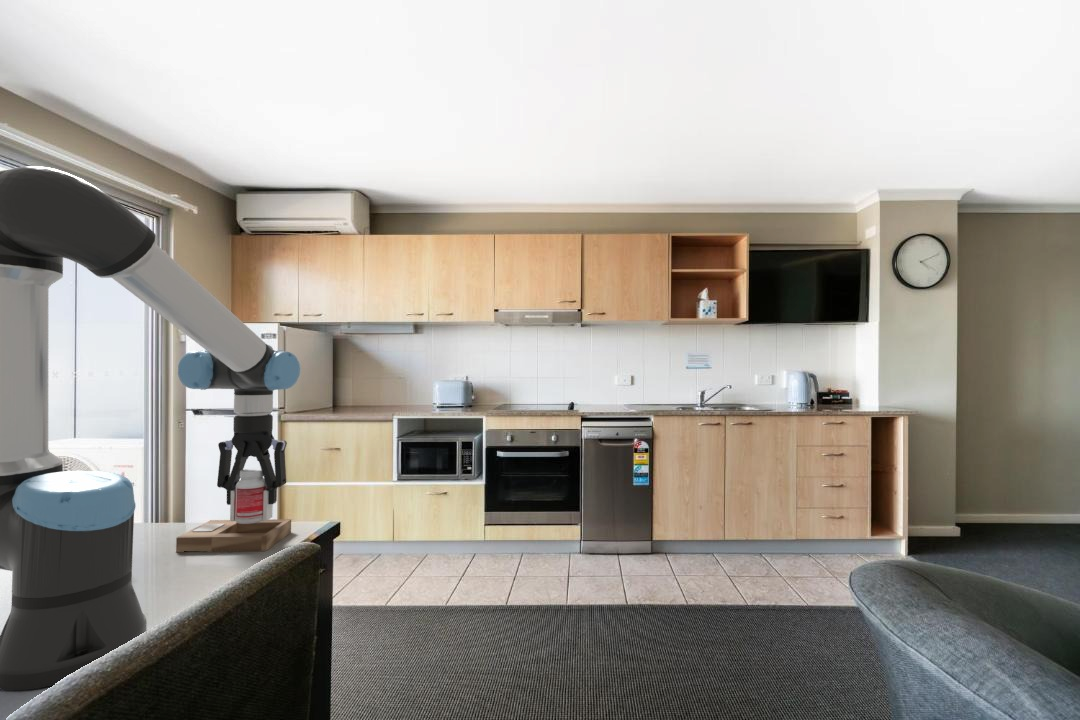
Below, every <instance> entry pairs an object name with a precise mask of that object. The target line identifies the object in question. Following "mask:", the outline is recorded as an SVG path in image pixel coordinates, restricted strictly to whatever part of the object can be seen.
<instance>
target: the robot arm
mask: <svg viewBox="0 0 1080 720" xmlns="http://www.w3.org/2000/svg"><path fill="white" fill-rule="evenodd" d="M64 259H67V260H70V261H72V262H74V263H76V264H79V265H80V266H83V267H84V268H85V269H86V270H88V271H90V272H91V273H92V274H93V275H95V276H96V277H99V278H102V279H103V278H105V279H106V278H107V279H110V278H111V279H113V280H114V281H115V282H117V283H118V285H120V286H122V287H123V288H124V289H126V290H127V291H128V292H129V293H131V294H132V295H133V296H134V297H136V298H137V299H138V300H140V301H141V302H142V303H144V304H145V305H147V306H148V307H149V308H151V309H152V310H153V311H154V312H156V313H157V314H158V315H160V316H161V317H162V318H164V319H165V320H166V321H168V322H169V323H171V325H173V326H174V327H176V328H177V330H179V331H180V332H182V333H184V334H185V335H186V336H187V337H188V338H190V339H191V340H192V341H194V342H195V343H196V344H197V345H199V346H200V347H201V348H203V349H204V350H192V351H187V353H185V354H184V355H182V357H181V358H180V359H179V362H178V365H177V368H178V369H177V375H178V378H179V381H180V383H181V384H182V385H183V386H184V387H186V388H188V389H190V390H191V389H192V390H201V391H205V390H217V389H218V390H233V391H234V392H233V395H234V396H233V397H234V399H233V413H234V414H236V415H234V417H233V430H232V431H233V436H232V438H231V439H230V440H224V441H220V442H218V446H217V447H218V449H219V464H218V471H217V473H218V475H217V483H216V484H217V485H216V486H217V487H218V488H219V489H221V488H223V489H224V490H226V505H227V506H230V508H229V510H230V511H229V512H230V514H229V516H230V519H229V520H230V521H235V497H236V484H237V482H238V481H240V480H241V478H240V471H241V470H244V469H245V465H246V463H247V460H248V459H249V457H254V458H255V457H256V461H258V463H259V467H260V468H261V470H262V473H263V478H264V479H265V482H266V485H267V489H266V490H264V495H263V521H267V520H271V518H273V505H274V504H276V503H277V501H278V497H277V496H278V488H280V487H283V486H285V485H286V484H287V470H286V468H287V467H286V457H285V456H286V454H285V453H286V451H285V450H286V447H287V444H288V442H287V441H286V440H278V439H275V437H274V436H273V426H274V425H273V423H274V422H273V420H274V418H273V417H274V415H272V414H270V413H272V412H273V411H274V391H276V390H288V389H291V388H292V387H294V385H295V384H297V382H298V380H299V377H300V374H301V366H300V364H301V363H300V361H299V360H298V357H297V356H296V355H295V354H294V353H292V352H291V351H290V352H289V351H286V350H285V351H284V350H274V348H273V346H271V345H269V344H267V343H266V342H265V341H264V340H263V339H261V338H260V337H259V336H258V335H257V334H256V333H255V332H254V331H253V330H252V329H251V328H250V327H248V326H247V324H245V323H244V322H243V321H242V320H240V318H238V317H237V316H236V315H235V314H234V313H233V312H231V310H230V309H228V308H227V307H226V306H225V304H223V303H222V302H221V301H220V300H219V299H217V298H216V297H215V296H214V295H213V294H212V293H211V292H209V290H207V289H206V288H205V287H204V286H203V285H202V284H201V282H199V281H197V280H196V279H195V278H194V276H192V275H191V274H190V273H189V272H188V271H187V270H186V269H184V267H182V266H181V265H180V264H179V263H178V262H177V261H175V259H173V258H172V256H170V255H169V254H168V253H167V252H166V251H165V250H164V249H162V248H161V247H160V246H159V245H158V237H157V234H156V232H155V231H153V230H152V229H151V228H149V226H148V225H147V224H146V223H144V221H142V220H141V219H140V218H138V217H137V216H136V215H135V214H134V213H133V211H130V210H129V209H128V208H126V207H125V206H124V205H123V204H121V203H120V202H119V201H118V200H116V199H115V198H113V197H112V196H111V195H109V194H107V193H106V192H104V191H103V190H101V189H99V188H98V187H96V186H95V185H93V184H92V183H89V182H87V181H86V180H84V179H83V178H80V177H77V176H75V175H74V174H70V173H68V172H65V171H62V170H59V169H56V168H51V167H46V166H37V165H35V166H34V165H33V166H21V167H19V166H18V167H16V168H11V169H3V170H0V570H4V571H10V572H11V574H12V577H11V579H12V580H11V607H10V608H11V609H10V612H9V615H8V617H7V620H6V622H5V624H4V626H3V629H2V630H1V632H0V690H2V691H3V690H4V691H26V690H35V689H36V690H37V689H41V688H47V687H52V686H55V685H54V684H55V683H57V682H58V681H60V680H61V679H63V678H64V677H66V676H67V675H69V674H71V673H73V672H75V671H76V670H78V669H80V668H81V667H83V666H85V665H87V664H89V663H91V662H92V661H94V660H96V659H98V658H100V657H102V656H104V655H105V654H107V653H109V652H110V651H112V650H114V649H116V648H118V647H119V646H121V645H123V644H125V643H127V642H128V641H130V640H132V639H133V638H135V637H137V636H139V635H140V634H142V633H144V632H145V631H146V632H147V624H148V623H147V618H146V616H145V613H143V610H142V606H141V605H140V602H139V600H138V597H137V594H136V591H135V589H134V587H133V581H132V580H133V577H132V576H133V575H132V574H133V551H134V549H133V548H134V547H133V546H134V525H135V510H136V502H135V494H134V486H133V483H132V482H131V481H130V479H129V478H128V477H126V476H124V475H122V474H118V473H115V472H111V471H105V470H104V471H102V470H91V471H86V470H67V471H66V470H63V468H64V467H63V465H64V463H63V461H64V460H63V459H61V458H60V457H58V455H57V456H56V455H55V454H53V453H52V452H51V451H50V448H49V289H50V287H51V286H52V285H54V284H55V283H56V282H58V281H59V280H61V279H62V278H63V275H64V273H63V271H64ZM271 446H272V449H273V451H274V452H273V456H274V457H273V458H274V468H273V465H272V462H271V455H270V451H269V448H271ZM233 448H235V449H236V451H237V452H236V454H235V457H234V463H233V466H232V469H231V465H232V457H233V456H232V455H233Z"/></svg>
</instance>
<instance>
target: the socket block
mask: <svg viewBox="0 0 1080 720" xmlns="http://www.w3.org/2000/svg"><path fill="white" fill-rule="evenodd" d="M291 533H292V519H291V518H290V519H287V518H286V519H284V518H283V519H279V518H277V519H275V518H274V519H268V520H267V521H260V522H256V523H250V524H239V523H237V522H236V521H230V519H218V520H217V519H210V520H209V521H206V522H205V523H203V524H201V525H198V526H197V527H195V528H193V529H190V530H188V531H187V532H184V533H183V534H181V535H179V536H177V537H176V541H175V542H176V543H175V545H176V546H175V547H176V548H175V551H176V552H175V553H185V552H184V551H208V552H209V553H210V552H211V553H213V552H214V553H216V552H217V553H218V552H220V553H222V552H266V551H268V550H269V549H271V548H272V547H273V546H275V545H277V543H278V542H280V541H281V540H283V539H284V538H286V537H287V536H288V535H289V534H291Z"/></svg>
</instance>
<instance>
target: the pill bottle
mask: <svg viewBox="0 0 1080 720" xmlns="http://www.w3.org/2000/svg"><path fill="white" fill-rule="evenodd" d="M266 489H267V485H266V482H265V479H264V476H263V473H262V470H261V467H256V468H255V467H254V468H244V469H243V470H241V471H240V480H239V481H238V482H237V484H236V497H235V521H236V522H237V523H239V524H250V523H256V522H260V521H263V495H264V490H266Z"/></svg>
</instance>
